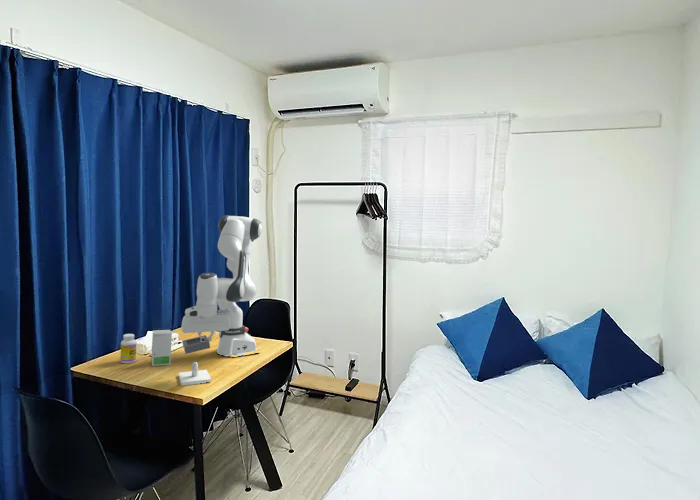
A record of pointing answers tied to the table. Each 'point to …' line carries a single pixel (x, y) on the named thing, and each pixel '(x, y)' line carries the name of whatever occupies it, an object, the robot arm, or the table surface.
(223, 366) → the table surface
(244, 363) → the table surface
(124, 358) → the supplement bottle
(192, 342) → the gray square tray
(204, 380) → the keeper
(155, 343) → the skincare box
